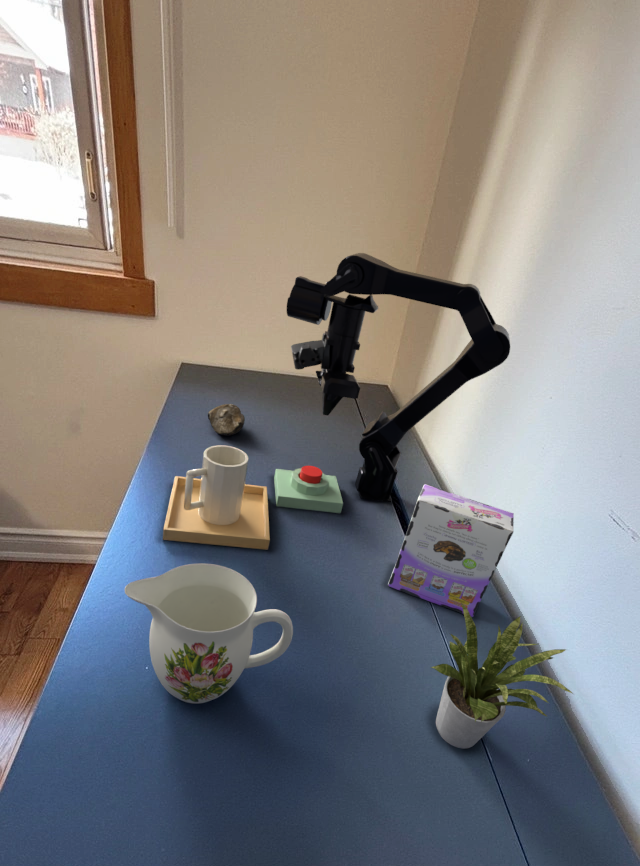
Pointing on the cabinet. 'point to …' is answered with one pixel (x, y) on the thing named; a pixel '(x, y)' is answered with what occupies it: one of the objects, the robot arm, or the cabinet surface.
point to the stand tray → (194, 529)
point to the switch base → (307, 492)
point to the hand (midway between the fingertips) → (325, 414)
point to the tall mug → (219, 485)
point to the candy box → (451, 549)
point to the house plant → (485, 684)
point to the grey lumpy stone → (226, 419)
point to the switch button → (311, 474)
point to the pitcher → (204, 629)
